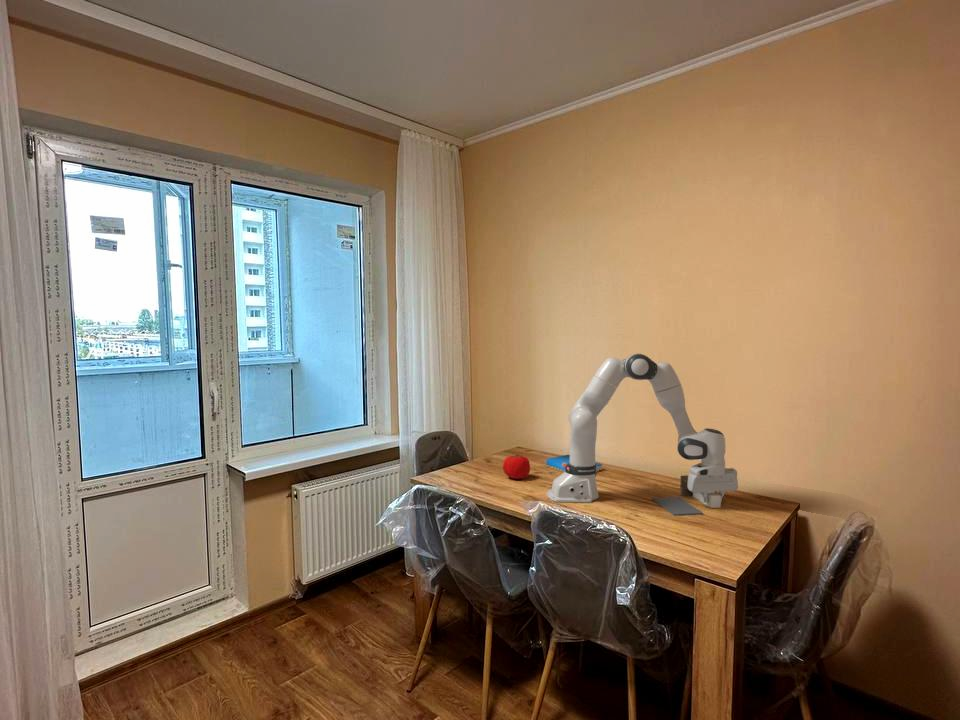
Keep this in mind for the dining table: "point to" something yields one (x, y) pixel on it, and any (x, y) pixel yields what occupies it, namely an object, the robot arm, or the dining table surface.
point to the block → (710, 499)
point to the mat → (677, 506)
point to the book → (560, 460)
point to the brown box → (685, 486)
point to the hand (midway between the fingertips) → (712, 501)
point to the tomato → (516, 466)
